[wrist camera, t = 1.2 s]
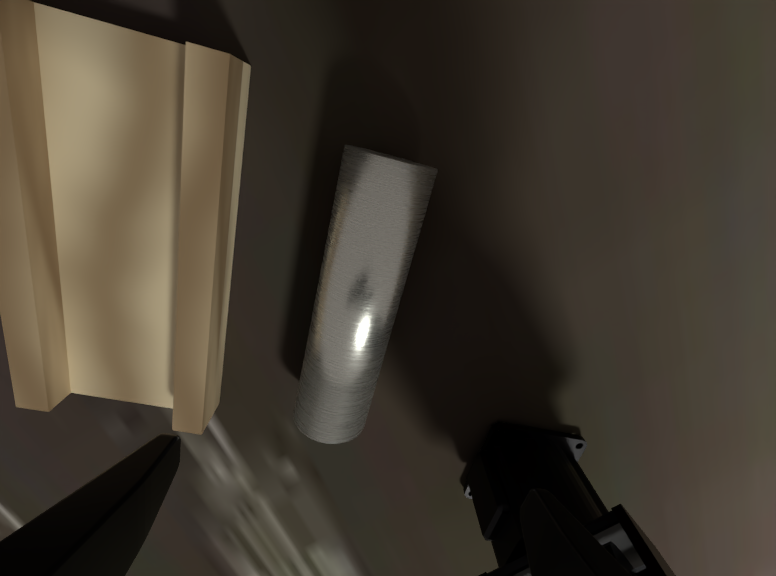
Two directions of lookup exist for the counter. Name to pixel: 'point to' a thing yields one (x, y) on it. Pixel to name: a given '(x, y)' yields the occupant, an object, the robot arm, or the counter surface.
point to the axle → (359, 289)
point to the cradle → (116, 211)
